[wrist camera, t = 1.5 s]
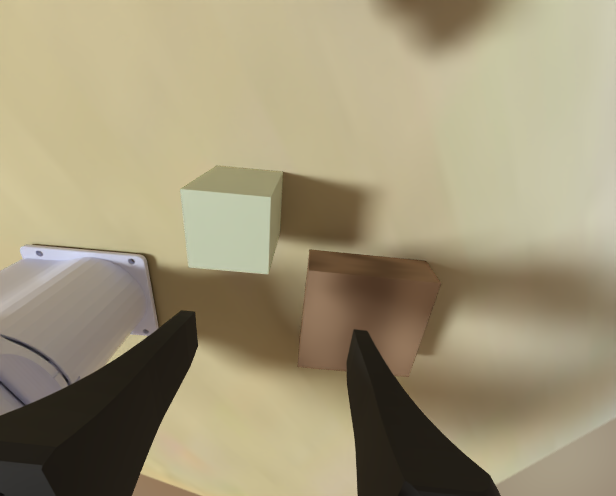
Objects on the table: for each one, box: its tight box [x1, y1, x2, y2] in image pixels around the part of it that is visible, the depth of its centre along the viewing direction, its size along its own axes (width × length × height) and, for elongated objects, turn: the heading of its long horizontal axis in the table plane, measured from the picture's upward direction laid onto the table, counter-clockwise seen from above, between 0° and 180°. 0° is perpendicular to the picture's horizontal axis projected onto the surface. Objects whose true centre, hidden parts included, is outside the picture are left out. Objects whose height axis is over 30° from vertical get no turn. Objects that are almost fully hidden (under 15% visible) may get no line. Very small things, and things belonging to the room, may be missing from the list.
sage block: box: [180, 166, 283, 274], centre depth 18 cm, size 4×4×6 cm
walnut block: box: [298, 250, 441, 377], centre depth 24 cm, size 9×9×4 cm
